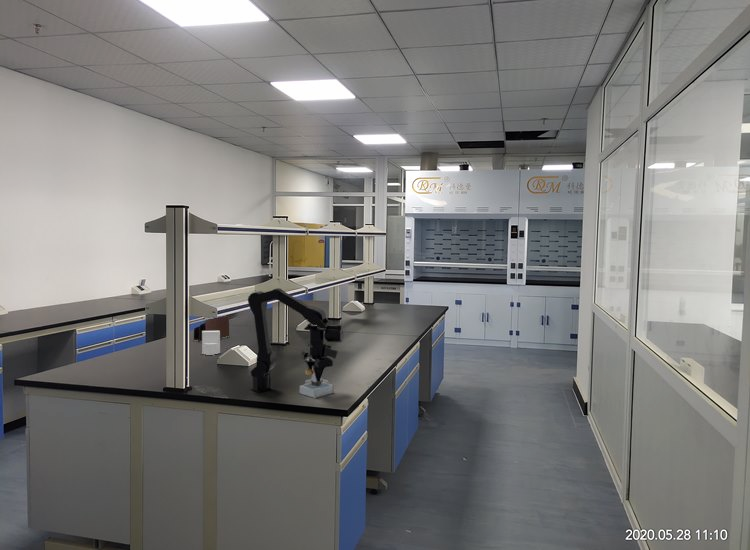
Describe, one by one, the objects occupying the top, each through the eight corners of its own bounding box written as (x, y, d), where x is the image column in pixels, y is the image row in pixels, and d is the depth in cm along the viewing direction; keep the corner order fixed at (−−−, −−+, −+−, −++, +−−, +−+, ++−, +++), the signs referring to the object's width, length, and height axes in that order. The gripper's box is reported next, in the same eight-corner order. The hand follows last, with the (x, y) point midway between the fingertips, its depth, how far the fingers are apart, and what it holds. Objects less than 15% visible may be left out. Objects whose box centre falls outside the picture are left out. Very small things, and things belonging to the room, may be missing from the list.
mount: (316, 387, 217) (316, 381, 217) (304, 384, 222) (304, 378, 222) (328, 383, 223) (328, 378, 222) (317, 380, 227) (317, 375, 227)
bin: (314, 397, 202) (314, 390, 202) (299, 393, 208) (299, 385, 208) (333, 392, 210) (333, 385, 210) (317, 388, 216) (317, 380, 216)
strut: (323, 385, 208) (323, 367, 208) (307, 386, 205) (308, 369, 205) (319, 382, 212) (319, 365, 211) (304, 384, 209) (304, 367, 208)
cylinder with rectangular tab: (201, 355, 272) (200, 332, 271) (203, 352, 281) (203, 329, 280) (219, 355, 274) (219, 332, 273) (220, 351, 283) (220, 329, 282)
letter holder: (229, 337, 324) (229, 315, 323) (206, 343, 306) (205, 319, 305) (217, 336, 328) (217, 313, 327) (193, 341, 311) (193, 317, 310)
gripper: (345, 343, 204) (344, 383, 205) (325, 335, 220) (325, 372, 221) (318, 346, 198) (318, 387, 199) (300, 337, 214) (300, 375, 215)
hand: (316, 380), depth 209 cm, fingers closed on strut, 4 cm apart
